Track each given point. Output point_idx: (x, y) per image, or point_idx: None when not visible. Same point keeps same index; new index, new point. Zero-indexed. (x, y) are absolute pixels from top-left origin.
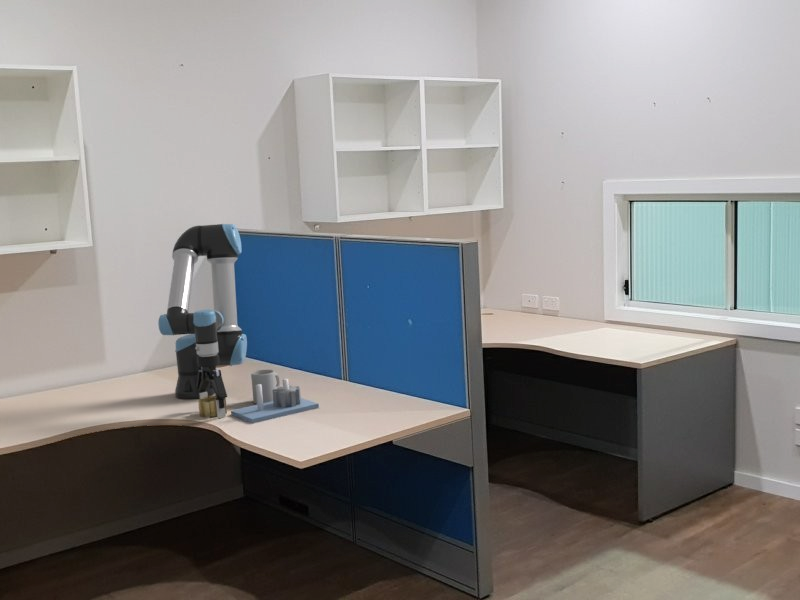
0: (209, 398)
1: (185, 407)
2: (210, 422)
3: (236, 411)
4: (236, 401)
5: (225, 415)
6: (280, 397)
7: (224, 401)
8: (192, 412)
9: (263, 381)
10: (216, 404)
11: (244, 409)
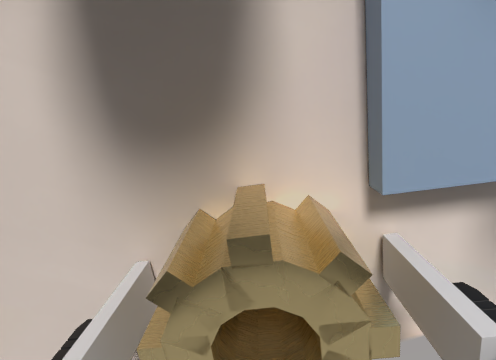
0: (214, 353)
1: (5, 335)
2: None
3: (444, 170)
4: (3, 22)
5: (401, 237)
6: None
7: (361, 260)
8: None
9: None
10: (441, 354)
11: (443, 96)
